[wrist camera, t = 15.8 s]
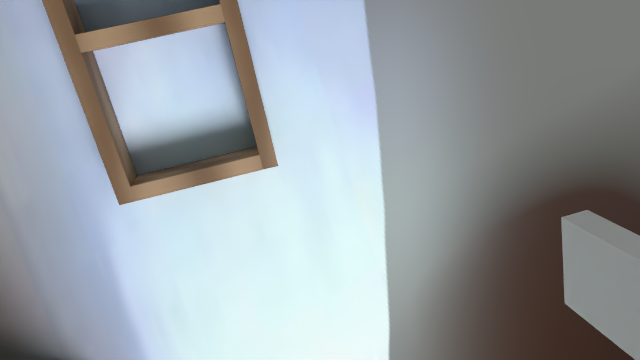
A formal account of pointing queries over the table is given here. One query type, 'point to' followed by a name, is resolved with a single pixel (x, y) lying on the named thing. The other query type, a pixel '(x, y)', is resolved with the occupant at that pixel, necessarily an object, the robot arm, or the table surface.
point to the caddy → (103, 118)
